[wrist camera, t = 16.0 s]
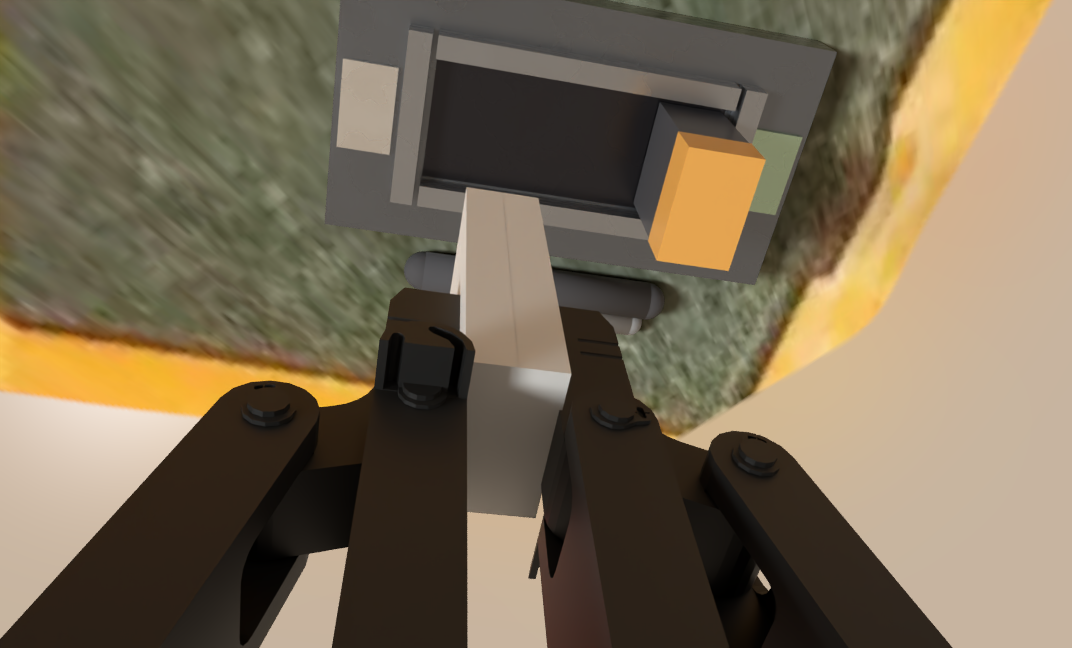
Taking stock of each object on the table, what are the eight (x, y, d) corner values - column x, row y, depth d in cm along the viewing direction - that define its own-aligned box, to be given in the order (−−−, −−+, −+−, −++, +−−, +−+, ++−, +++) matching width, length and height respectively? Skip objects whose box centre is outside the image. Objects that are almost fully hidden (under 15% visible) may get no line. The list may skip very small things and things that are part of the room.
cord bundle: (400, 297, 46) (398, 315, 44) (407, 242, 44) (405, 259, 42) (649, 330, 48) (656, 348, 46) (664, 278, 46) (671, 296, 45)
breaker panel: (331, 204, 43) (320, 234, 40) (350, -49, 37) (339, -38, 34) (741, 264, 46) (761, 295, 43) (818, 40, 40) (847, 58, 37)
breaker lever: (631, 202, 41) (656, 260, 36) (657, 101, 39) (689, 147, 33) (694, 212, 42) (728, 271, 36) (723, 113, 39) (765, 159, 34)
